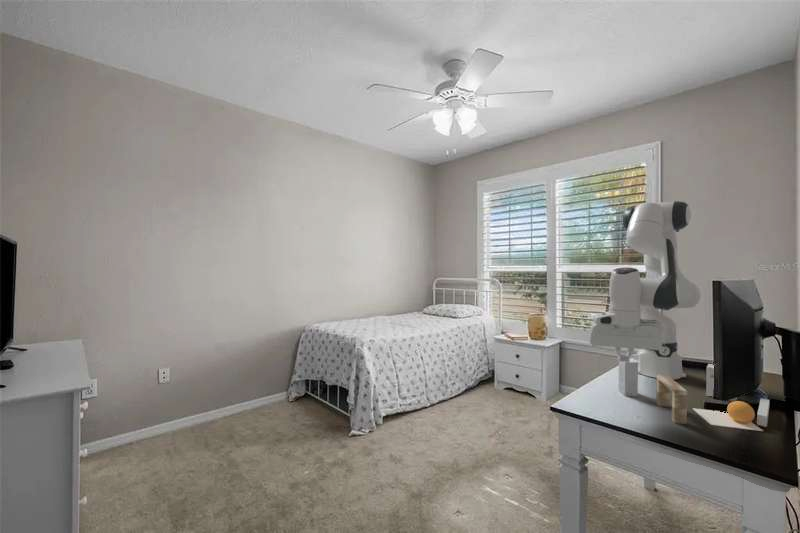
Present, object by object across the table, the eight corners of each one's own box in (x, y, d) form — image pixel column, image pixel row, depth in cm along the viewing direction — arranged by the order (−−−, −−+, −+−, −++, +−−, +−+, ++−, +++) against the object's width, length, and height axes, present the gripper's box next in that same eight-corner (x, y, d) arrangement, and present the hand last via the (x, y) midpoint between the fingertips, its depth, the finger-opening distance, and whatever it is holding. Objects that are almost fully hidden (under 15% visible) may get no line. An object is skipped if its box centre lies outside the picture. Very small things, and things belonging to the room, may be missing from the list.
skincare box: (638, 396, 128) (638, 362, 127) (624, 395, 128) (625, 362, 128) (630, 390, 134) (631, 358, 133) (617, 389, 134) (618, 357, 134)
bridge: (674, 422, 108) (674, 389, 107) (656, 403, 122) (656, 374, 122) (686, 424, 107) (687, 391, 106) (667, 404, 121) (667, 375, 121)
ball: (754, 413, 109) (734, 423, 111) (738, 395, 111) (718, 405, 113) (764, 419, 104) (743, 429, 105) (747, 399, 106) (726, 409, 107)
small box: (738, 398, 126) (738, 368, 126) (736, 402, 122) (737, 371, 122) (707, 392, 132) (708, 363, 132) (705, 396, 128) (706, 366, 128)
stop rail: (760, 407, 119) (760, 398, 119) (769, 409, 117) (769, 399, 117) (756, 424, 106) (757, 414, 106) (766, 426, 105) (766, 416, 105)
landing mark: (692, 408, 117) (692, 408, 117) (739, 413, 114) (739, 413, 114) (711, 425, 106) (711, 424, 106) (763, 431, 102) (763, 430, 102)
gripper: (658, 318, 117) (657, 361, 118) (587, 315, 124) (587, 356, 124) (666, 321, 111) (665, 367, 112) (591, 318, 118) (590, 361, 118)
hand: (623, 361), depth 118 cm, fingers closed
